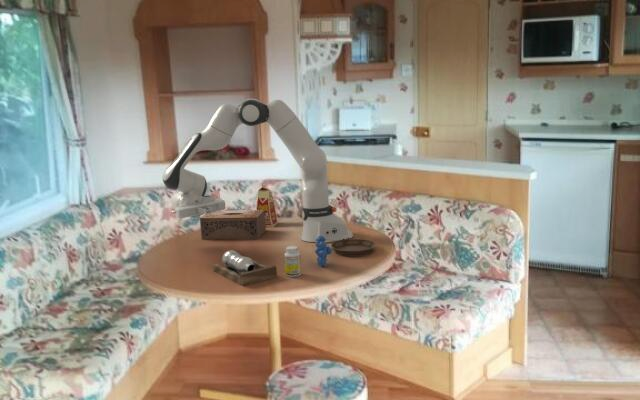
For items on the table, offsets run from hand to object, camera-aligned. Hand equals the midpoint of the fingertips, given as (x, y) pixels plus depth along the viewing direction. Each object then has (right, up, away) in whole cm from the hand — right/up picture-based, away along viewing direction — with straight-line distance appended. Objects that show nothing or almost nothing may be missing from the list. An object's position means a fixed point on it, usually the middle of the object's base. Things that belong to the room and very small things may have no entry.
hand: (208, 211), depth 245 cm
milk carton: (+18, -8, +54) cm, 57 cm away
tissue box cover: (+5, -12, +38) cm, 40 cm away
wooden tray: (+16, -22, -18) cm, 33 cm away
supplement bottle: (+34, -23, -21) cm, 46 cm away
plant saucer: (+57, -16, +4) cm, 59 cm away
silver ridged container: (+9, -17, -8) cm, 21 cm away
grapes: (+45, -20, -13) cm, 51 cm away
